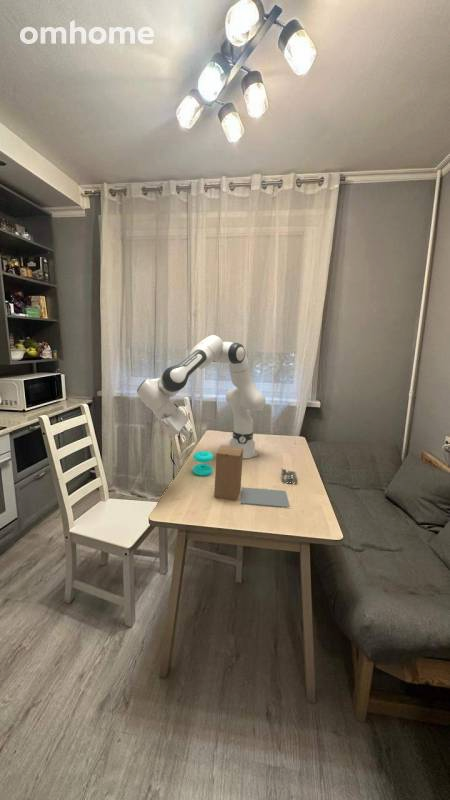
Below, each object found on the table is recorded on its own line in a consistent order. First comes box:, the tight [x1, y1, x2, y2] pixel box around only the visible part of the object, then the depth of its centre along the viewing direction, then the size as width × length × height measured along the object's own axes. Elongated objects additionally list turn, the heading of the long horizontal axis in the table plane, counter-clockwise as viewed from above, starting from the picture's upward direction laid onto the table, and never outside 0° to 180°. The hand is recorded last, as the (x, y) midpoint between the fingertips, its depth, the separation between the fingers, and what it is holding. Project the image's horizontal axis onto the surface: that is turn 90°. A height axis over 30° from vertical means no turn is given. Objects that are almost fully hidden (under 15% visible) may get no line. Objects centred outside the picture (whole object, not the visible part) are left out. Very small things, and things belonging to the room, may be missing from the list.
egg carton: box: [280, 467, 298, 484], centre depth 153 cm, size 11×8×4 cm
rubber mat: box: [240, 486, 291, 508], centre depth 133 cm, size 14×20×1 cm
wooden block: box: [213, 445, 244, 501], centre depth 134 cm, size 10×10×20 cm
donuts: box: [192, 450, 214, 477], centre depth 155 cm, size 10×10×10 cm
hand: (188, 436), depth 132 cm, fingers closed
